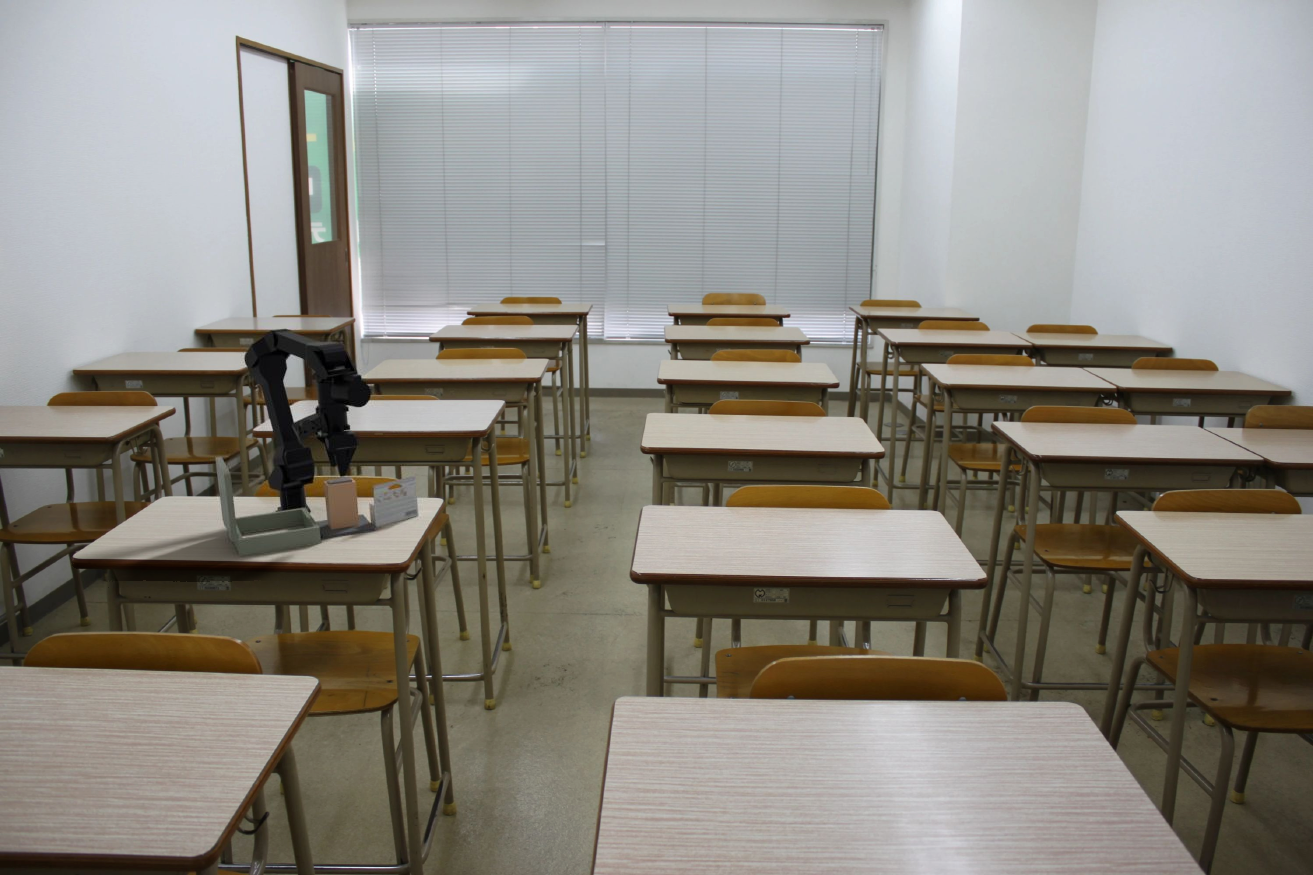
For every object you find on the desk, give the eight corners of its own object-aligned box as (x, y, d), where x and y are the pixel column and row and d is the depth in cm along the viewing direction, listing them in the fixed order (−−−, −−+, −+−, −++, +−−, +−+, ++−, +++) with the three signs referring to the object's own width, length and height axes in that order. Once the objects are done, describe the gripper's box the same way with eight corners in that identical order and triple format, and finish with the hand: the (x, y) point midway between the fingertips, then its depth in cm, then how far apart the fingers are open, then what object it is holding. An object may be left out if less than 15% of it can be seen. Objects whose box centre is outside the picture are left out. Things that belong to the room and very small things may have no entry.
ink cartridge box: (370, 525, 216) (366, 483, 213) (413, 514, 224) (410, 473, 221) (375, 527, 214) (372, 485, 212) (419, 516, 222) (416, 475, 220)
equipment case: (224, 535, 209) (215, 457, 205) (306, 522, 218) (299, 447, 214) (233, 557, 196) (224, 474, 192) (320, 542, 204) (313, 463, 200)
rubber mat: (313, 524, 216) (313, 522, 216) (363, 516, 221) (362, 514, 221) (323, 538, 207) (323, 536, 207) (374, 530, 212) (374, 527, 212)
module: (327, 524, 214) (323, 479, 212) (355, 520, 217) (351, 475, 215) (331, 529, 211) (327, 484, 208) (359, 525, 214) (355, 480, 211)
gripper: (285, 398, 211) (291, 466, 215) (301, 413, 196) (307, 487, 199) (337, 393, 217) (342, 460, 220) (356, 407, 201) (362, 479, 205)
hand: (338, 471), depth 211 cm, fingers open, 9 cm apart
